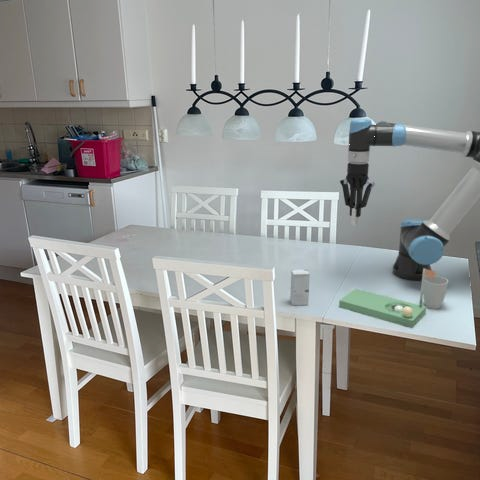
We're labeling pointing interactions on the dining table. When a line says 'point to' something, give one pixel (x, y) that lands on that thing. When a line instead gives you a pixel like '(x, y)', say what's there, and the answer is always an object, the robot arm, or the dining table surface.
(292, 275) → the skincare box
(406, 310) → the yellow ball
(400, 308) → the ball
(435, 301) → the cup
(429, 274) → the flag
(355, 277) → the dining table surface
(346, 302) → the green
